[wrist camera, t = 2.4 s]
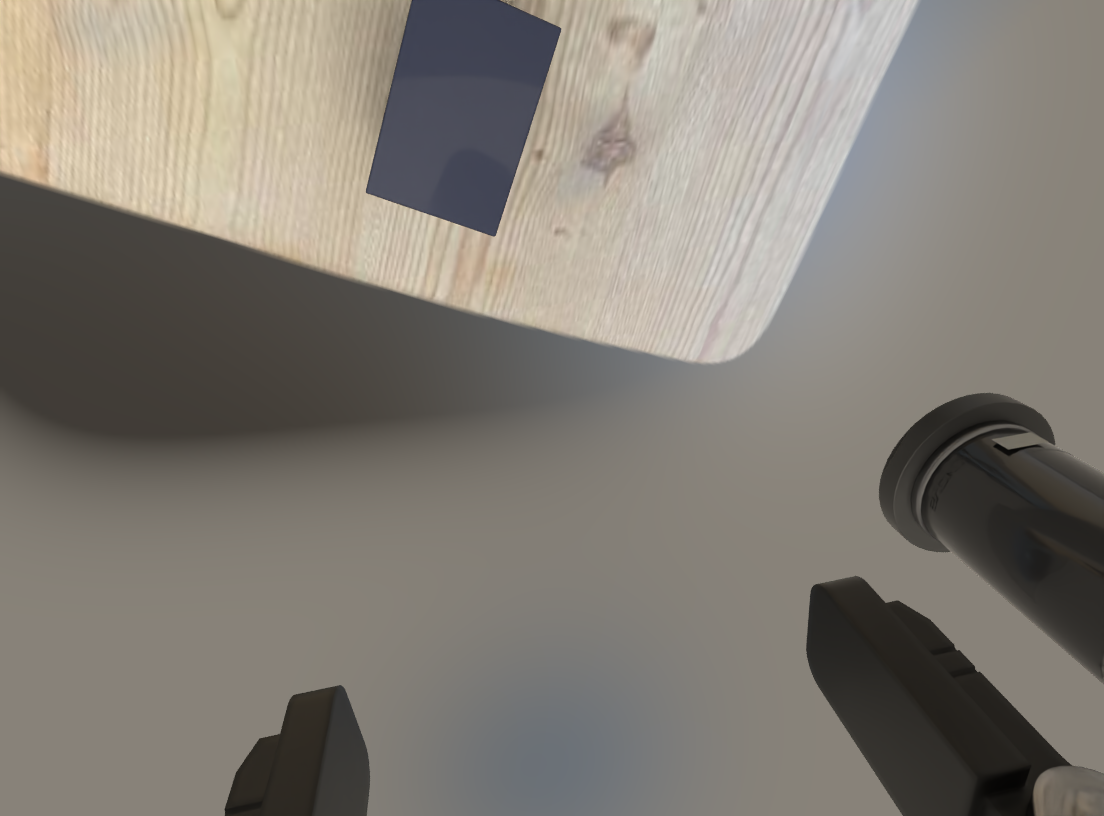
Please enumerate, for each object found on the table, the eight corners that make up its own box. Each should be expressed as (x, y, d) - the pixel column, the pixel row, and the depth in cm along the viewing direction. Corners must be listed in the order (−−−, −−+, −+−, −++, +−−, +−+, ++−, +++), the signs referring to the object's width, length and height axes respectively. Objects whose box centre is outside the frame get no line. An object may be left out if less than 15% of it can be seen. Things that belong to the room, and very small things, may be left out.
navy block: (522, 56, 27) (562, 28, 18) (478, 198, 29) (495, 237, 20) (427, 15, 26) (420, -36, 17) (389, 166, 28) (365, 193, 19)
